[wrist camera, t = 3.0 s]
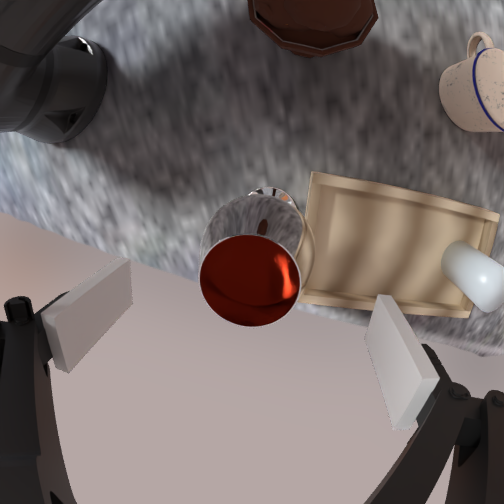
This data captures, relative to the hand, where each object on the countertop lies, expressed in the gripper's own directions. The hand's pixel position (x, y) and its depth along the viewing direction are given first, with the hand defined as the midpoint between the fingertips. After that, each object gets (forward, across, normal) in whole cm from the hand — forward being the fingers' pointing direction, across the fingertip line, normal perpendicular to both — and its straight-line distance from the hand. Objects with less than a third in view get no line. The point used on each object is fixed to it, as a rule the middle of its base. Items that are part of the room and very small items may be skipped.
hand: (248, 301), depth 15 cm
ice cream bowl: (+20, +2, +21) cm, 29 cm away
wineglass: (+20, 0, 0) cm, 20 cm away
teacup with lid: (+20, +22, +20) cm, 36 cm away
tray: (+20, +16, -1) cm, 25 cm away
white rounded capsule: (+19, +24, -1) cm, 30 cm away
